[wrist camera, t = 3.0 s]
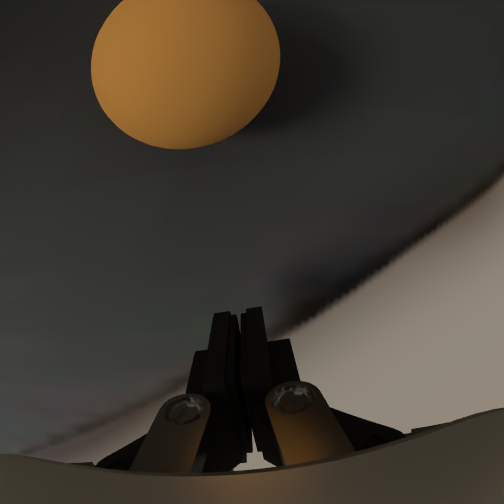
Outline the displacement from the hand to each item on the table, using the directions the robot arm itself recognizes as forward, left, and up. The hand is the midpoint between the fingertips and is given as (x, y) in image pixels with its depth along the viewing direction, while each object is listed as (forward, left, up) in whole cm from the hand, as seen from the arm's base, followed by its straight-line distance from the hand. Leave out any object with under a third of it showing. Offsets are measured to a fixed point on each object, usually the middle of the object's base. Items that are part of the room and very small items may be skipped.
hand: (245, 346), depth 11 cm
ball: (0, +10, 0) cm, 10 cm away
